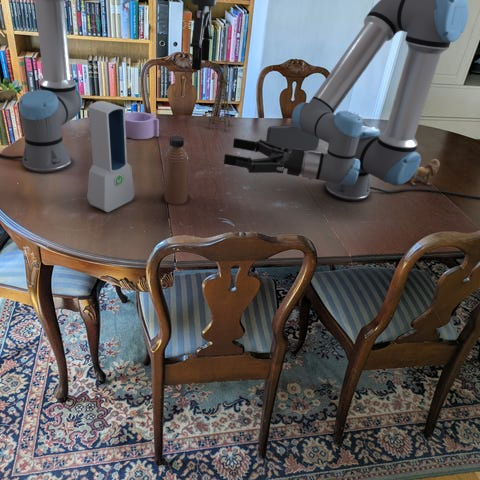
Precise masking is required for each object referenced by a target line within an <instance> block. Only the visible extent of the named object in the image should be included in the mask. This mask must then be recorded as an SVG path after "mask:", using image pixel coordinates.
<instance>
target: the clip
mask: <svg viewBox="0 0 480 480" xmlns="http://www.w3.org/2000/svg"><path fill="white" fill-rule="evenodd" d="M159 120H160V119H158V118H157V114H156V113H148V112H143V111H132V112H131V111H130V112H127V113H125V127H126V138H129V139H132V140H148V139H151V138H153V137H156V138H157V137H159V136H160V121H159Z"/></svg>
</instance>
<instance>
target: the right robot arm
mask: <svg viewBox="0 0 480 480" xmlns="http://www.w3.org/2000/svg"><path fill="white" fill-rule="evenodd" d="M468 18H469V3H468V0H379V1H378V2H377V3H376V4H374V6H373V7H372V8H371V9H370V10H369V12H368V13H367V15H366V16H365V18H364V19H363V27H362V28H361V29H360V31H359V32H358V33H357V35H356V36H355V37H354V39H353V40H352V42H351V43H350V45H349V46H348V48H347V49H346V51H345V52H344V53H343V54H342V56H341V57H340V58H339V60H338V61H337V63H336V64H335V66H334V67H333V69H332V70H331V71H330V73H329V74H328V75H327V76H326V78H325V79H324V80H323V83H322V84H321V86H320V87H319V88H318V89H317V91H316V92H315V94H314V95H313V97H312V98H311V99H310V101H309V102H305V101H303V102H300V103H298V104H296V106H295V107H294V109H293V111H292V112H291V113H292V114H291V122H292V125H294V126H296V127H297V128H299V129H301V130H302V131H303V132H306V133H309V134H311V135H313V136H315V137H317V138H319V140H321V141H324V142H326V143H327V144H328V147H327V151H326V153H324V152H320V151H316V150H315V151H314V150H306V151H305V150H302V149H296V148H292V149H291V151H290V152H289V151H288V150H289V149H288V148H285V147H281V146H278V145H275V144H272V143H269V142H267V141H266V140H264V139H259V140H257V141H254V140H247V139H242V138H237V137H234V138H233V144H232V148H234V149H240V150H246V151H251V152H255V153H261V154H262V155H265V156H266V157H263V158H253V159H252V158H251V157H250V156H249V157H244V156H240V155H234V154H229V153H225V154H224V157H223V165H226V166H233V167H237V168H244V169H247V170H248V172H247V173H250V174H261V173H262V174H264V173H265V174H269V173H271V174H272V173H273V174H274V173H275V174H284V170H285V169H286V170H287V171H286V174H287V175H289V176H294V177H300V175H301V177H302V178H307V179H308V180H317V181H318V180H319V181H323V182H326V183H325V188H324V189H325V191H326V192H327V194H329V195H330V196H331V197H333V198H335V199H338V200H340V201H345V202H351V203H356V202H357V203H359V202H363V201H366V200H368V199H369V197H370V194H371V190H373V191H379V192H381V193H385V194H393V193H399V192H408V191H409V192H411V191H423V192H425V191H426V192H433V193H434V192H436V193H441V194H449V195H455V196H460V197H467V198H472V199H479V200H480V196H478V195H471V194H467V193H466V194H465V193H460V192H453V191H449V190H442V189H435V188H423V187H422V188H419V187H418V188H417V187H413V188H412V187H411V188H400V189H394V190H386V189H385V190H384V189H381V188H379V187H373V186H371V184H370V175H371V176H374V177H375V178H377V179H379V180H381V181H383V182H384V183H386V184H389V185H392V186H395V187H399V186H402V185H404V184H405V183H407V182H408V181H410V180H411V177H412V176H413V175H414V174H415V172H416V171H417V169H418V167H420V164H421V161H422V157H421V154H420V153H419V152H417V148H418V145H419V143H418V141H417V139H416V138H415V137H416V134H417V130H418V127H419V124H420V122H421V117H422V115H423V112H424V108H425V105H426V102H427V99H428V96H429V94H430V93H429V92H430V89H431V86H432V83H433V80H434V77H435V73H436V70H437V67H438V64H439V61H440V58H441V54H442V53H444V52H445V51H447V50H448V49H449V48H450V45H451V43H454V42H457V40H459V38H460V37H461V36H462V33H464V31H465V29H466V27H467V23H468ZM400 32H405V33H406V36H405V39H404V42H405V44H406V46H407V48H408V49H407V53H406V57H405V59H404V63H403V67H402V71H401V75H400V78H399V82H398V85H397V89H396V92H395V96H394V100H393V103H392V106H391V110H390V114H389V118H388V121H387V125H386V129H385V131H384V132H382V133H381V130H380V129H379V128H378V127H374V126H371V125H369V126H368V125H363V123H364V118H363V117H362V115H361V114H359V113H357V112H352V111H349V110H339V111H337V109H339V107H340V105H341V104H342V102H343V101H344V100H345V98H346V97H347V95H348V94H349V93H350V92H351V90H352V89H353V87H354V86H355V84H356V83H357V82H358V81H359V79H360V78H361V76H362V74H363V73H364V72H365V71H366V69H367V68H368V67H369V65H370V64H371V63H372V61H373V60H374V59H375V57H376V56H377V54H378V53H379V51H380V50H381V49H382V47H383V46H384V45H385V43H386V42H389V41H392V40H393V39H394V37H395V36H396V34H398V33H400ZM336 111H337V112H336ZM335 112H336V113H335Z"/></svg>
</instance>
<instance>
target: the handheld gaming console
mask: <svg viewBox="0 0 480 480" xmlns="http://www.w3.org/2000/svg"><path fill="white" fill-rule="evenodd" d="M265 141H267V142H269V143H272V144H275V145H278V146H281V147H285V148H288V149H289V150H288V152H289V151H290V152H291V149H292V148H296V149H302V150H303V151H307V150H309V151H314V150H317V148H318V147H319V144H320V139H319V138H317V137H315V136H313V135H311V134H309V133H306V132H303V131H302V130H301V129H299V128H297V127H296V126H294V124H292V125H291V124H290V125H289V124H286V125H285V124H284V125H283V124H281V125H270V126H268V127H267V130H266V139H265Z"/></svg>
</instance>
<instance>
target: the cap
mask: <svg viewBox="0 0 480 480" xmlns="http://www.w3.org/2000/svg"><path fill="white" fill-rule="evenodd" d="M184 144H185V138H184V137H183V136H180V135H172V136H170V137H169V146H170V147H171V146H172V147H184V146H185V145H184Z"/></svg>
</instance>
